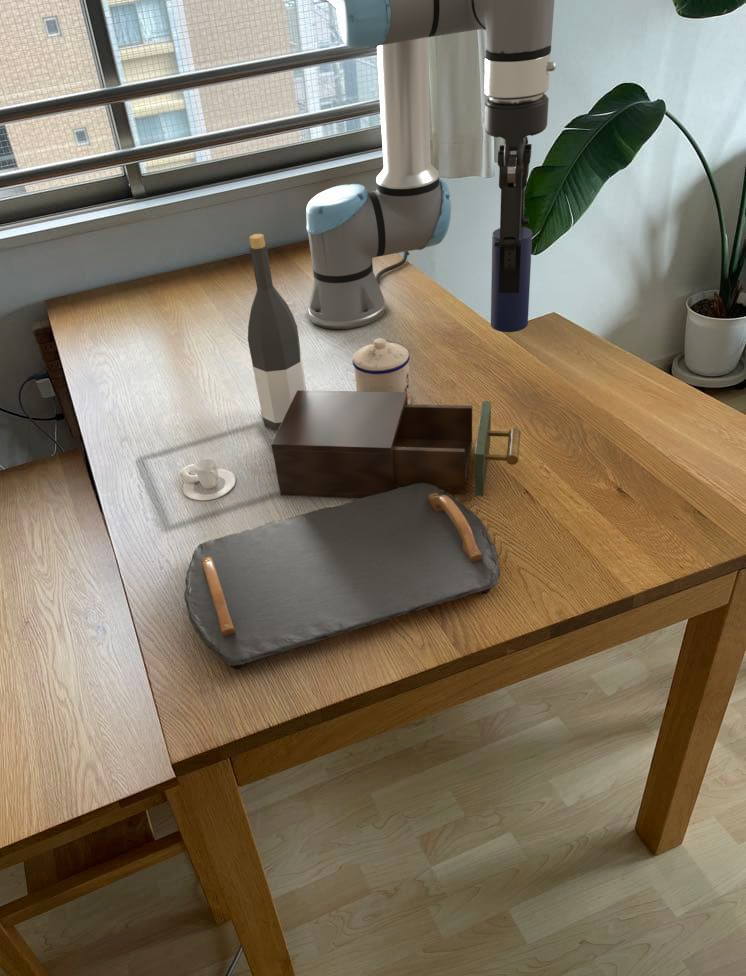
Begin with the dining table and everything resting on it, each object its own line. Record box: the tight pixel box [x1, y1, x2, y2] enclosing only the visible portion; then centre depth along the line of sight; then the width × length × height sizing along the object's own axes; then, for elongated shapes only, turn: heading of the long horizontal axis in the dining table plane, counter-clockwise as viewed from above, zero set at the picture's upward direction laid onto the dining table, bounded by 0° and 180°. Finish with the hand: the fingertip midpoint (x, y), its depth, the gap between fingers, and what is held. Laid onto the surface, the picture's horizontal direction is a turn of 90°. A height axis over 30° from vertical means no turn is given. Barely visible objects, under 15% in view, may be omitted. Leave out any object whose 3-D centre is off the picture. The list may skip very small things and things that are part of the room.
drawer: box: [392, 400, 521, 497], centre depth 116 cm, size 20×14×7 cm
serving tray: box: [183, 482, 501, 671], centre depth 101 cm, size 39×23×6 cm, turn 108°
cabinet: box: [270, 390, 408, 500], centre depth 119 cm, size 17×15×9 cm
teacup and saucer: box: [180, 457, 237, 502], centre depth 121 cm, size 9×8×4 cm
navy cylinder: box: [490, 225, 533, 333], centre depth 112 cm, size 5×5×13 cm
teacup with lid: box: [351, 337, 411, 404], centre depth 132 cm, size 12×9×12 cm
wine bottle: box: [247, 233, 307, 432], centre depth 125 cm, size 8×8×30 cm
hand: (510, 282), depth 113 cm, fingers closed on navy cylinder, 5 cm apart
